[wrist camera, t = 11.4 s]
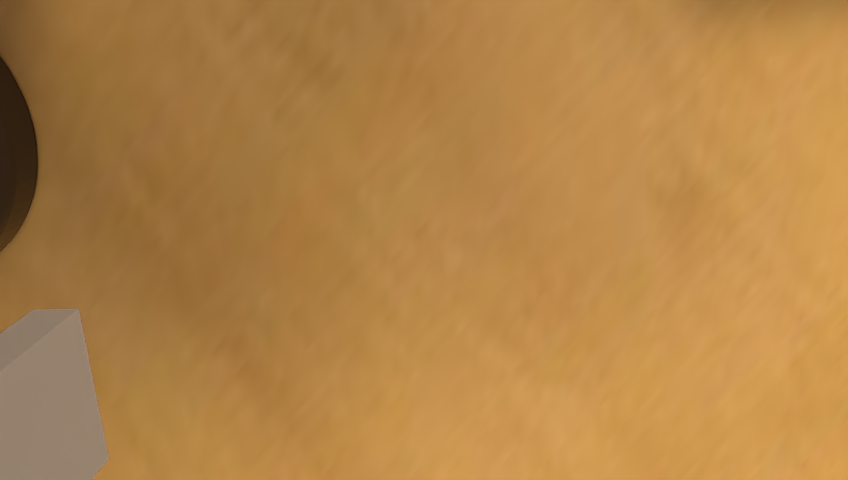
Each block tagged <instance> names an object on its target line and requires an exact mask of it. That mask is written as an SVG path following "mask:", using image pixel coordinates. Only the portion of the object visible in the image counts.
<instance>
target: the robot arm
mask: <svg viewBox="0 0 848 480" xmlns="http://www.w3.org/2000/svg"><path fill="white" fill-rule="evenodd" d="M36 171H37V154H36V143H35V137H34V131H33V127H32V123H31V119H30V116H29V113H28V109H27V107H26V104H25V102H24V99H23V97H22V94H21V92H20V90H19V88H18V86H17V84H16V82H15V80H14V78H13V77H12V75H11V73H10V72H9V70H8V68H7V67H6V65H5V64H4V62H3V61H2V60H1V58H0V251H1V250H2V249H3V248H4V247H5V246H6V245H7V244H8V243H9V242H10V241H11V239H12V238H13V237H14V235H15V234H16V233H17V231H18V230H19V228H20V226H21V225H22V223H23V221H24V219H25V217H26V214H27V212H28V210H29V207H30V204H31V201H32V197H33V193H34V188H35V182H36ZM108 459H109V456H108V451H107V446H106V441H105V436H104V431H103V426H102V421H101V416H100V411H99V406H98V401H97V397H96V392H95V387H94V382H93V377H92V372H91V367H90V362H89V357H88V352H87V347H86V342H85V337H84V332H83V327H82V322H81V317H80V312H79V308H76V309H34V310H32V311H30V312H29V313H28V314H26V315H25V316H24V317H22V318H21V319H19V320H18V321H17V322H15V323H14V324H13V325H11V326H10V327H8V328H7V329H6V330H4V331H3V332H2V333H0V480H92V479H93V478H94V477H95V475H96V474H97V473H98V472H99V470H100V469H101V468H102V467H103V465H104V464H105V463H106V462H107V460H108Z"/></svg>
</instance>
